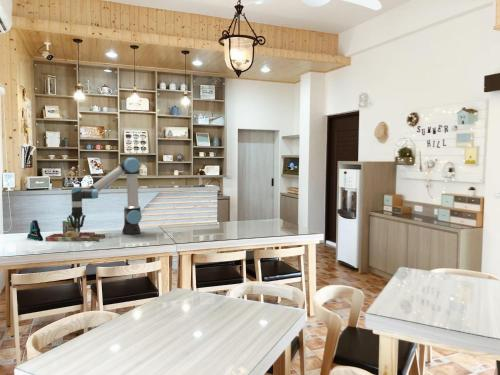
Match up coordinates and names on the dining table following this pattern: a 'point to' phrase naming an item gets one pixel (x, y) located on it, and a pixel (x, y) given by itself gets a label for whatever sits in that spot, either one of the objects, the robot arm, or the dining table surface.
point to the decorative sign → (35, 231)
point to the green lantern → (68, 226)
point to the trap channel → (63, 237)
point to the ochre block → (71, 234)
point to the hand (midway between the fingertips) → (77, 236)
